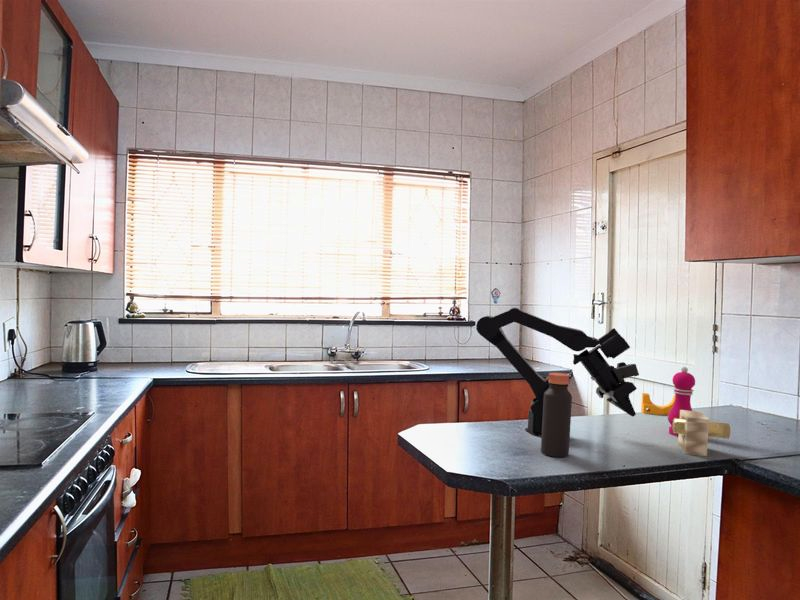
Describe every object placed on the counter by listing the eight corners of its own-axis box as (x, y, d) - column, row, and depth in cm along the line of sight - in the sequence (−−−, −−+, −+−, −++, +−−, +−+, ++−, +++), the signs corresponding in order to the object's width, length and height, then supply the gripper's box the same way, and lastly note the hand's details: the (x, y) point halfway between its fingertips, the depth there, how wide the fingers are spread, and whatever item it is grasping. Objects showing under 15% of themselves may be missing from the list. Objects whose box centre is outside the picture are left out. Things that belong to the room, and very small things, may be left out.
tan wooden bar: (674, 434, 152) (675, 419, 152) (672, 431, 156) (673, 416, 156) (729, 440, 149) (730, 425, 149) (725, 436, 152) (726, 421, 152)
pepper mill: (697, 435, 170) (701, 367, 169) (689, 439, 164) (694, 369, 164) (671, 429, 174) (675, 364, 174) (663, 433, 169) (667, 366, 169)
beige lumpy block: (685, 453, 149) (687, 417, 149) (678, 443, 158) (680, 409, 158) (706, 456, 147) (709, 419, 147) (697, 446, 157) (700, 411, 157)
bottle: (538, 449, 147) (542, 371, 147) (564, 450, 147) (569, 372, 146) (543, 457, 140) (548, 375, 140) (571, 458, 140) (576, 377, 140)
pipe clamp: (643, 413, 197) (644, 395, 196) (641, 411, 201) (642, 393, 201) (681, 417, 194) (682, 398, 193) (678, 414, 198) (679, 396, 198)
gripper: (633, 351, 150) (671, 400, 148) (612, 352, 168) (646, 396, 166) (598, 375, 150) (635, 425, 148) (581, 374, 169) (615, 418, 166)
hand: (634, 415), depth 157 cm, fingers closed
